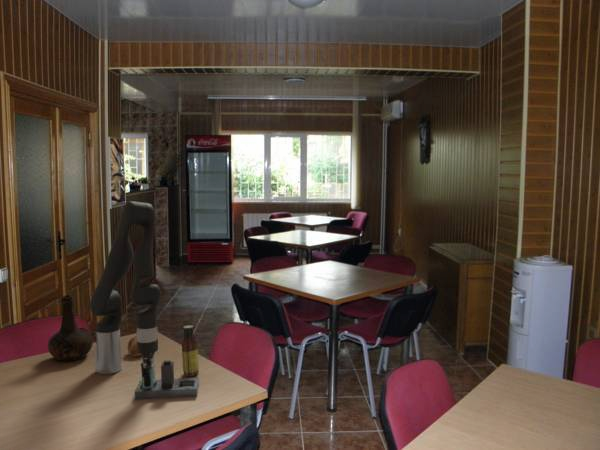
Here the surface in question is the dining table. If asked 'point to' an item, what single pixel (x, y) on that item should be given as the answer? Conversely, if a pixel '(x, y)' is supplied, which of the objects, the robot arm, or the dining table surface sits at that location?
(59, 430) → the dining table surface
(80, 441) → the dining table surface
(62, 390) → the dining table surface
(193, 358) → the sauce bottle
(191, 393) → the gray slotted rack
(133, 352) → the bread roll
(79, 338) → the glass bottle
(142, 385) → the plug
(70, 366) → the dining table surface
